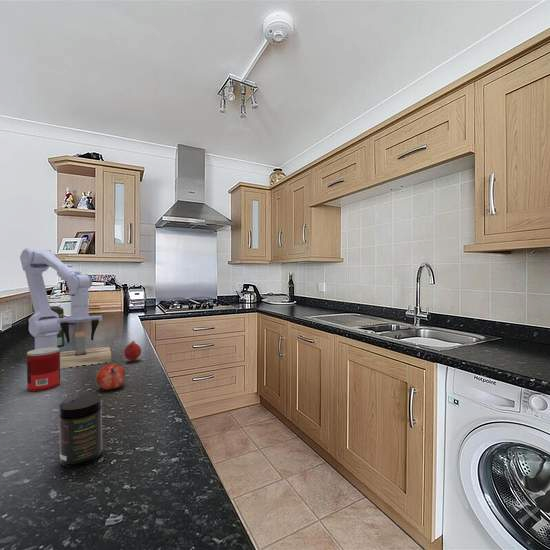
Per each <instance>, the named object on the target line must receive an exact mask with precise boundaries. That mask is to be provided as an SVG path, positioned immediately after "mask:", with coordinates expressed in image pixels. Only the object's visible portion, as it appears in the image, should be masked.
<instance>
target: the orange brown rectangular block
mask: <svg viewBox="0 0 550 550" xmlns="http://www.w3.org/2000/svg"><path fill="white" fill-rule="evenodd" d="M74 335H75V336H74V338H75V351H76V354H81V353H85V349H86V331H85V330H84V331H75V334H74Z"/></svg>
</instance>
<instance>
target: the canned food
mask: <svg viewBox="0 0 550 550" xmlns="http://www.w3.org/2000/svg"><path fill="white" fill-rule="evenodd" d="M60 352H61V350H60V348H59V347H48V348H40V349H35V348H34V349H32V350H29V351H27V353H26V388H27V389H28V391H30V392H42V391H41V390H43V391H47V389H48V390H51V389H54V388H56V387H58V386H59V385H60V383H61V369H60Z"/></svg>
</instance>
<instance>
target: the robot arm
mask: <svg viewBox="0 0 550 550" xmlns="http://www.w3.org/2000/svg"><path fill="white" fill-rule="evenodd" d="M19 259H20V263H21V268H22V271H23V272H24V273H25V277H26V282H27V285H28V289H29V294H30V298H31V302H32V307H33V311H34V313H33V314H32V315H31V316H30V317H29V318H28V332H29V333H30V335H31V336H32V337H33V338H34V350H35V349H40V348H48V347H57V334H59V331H60V330H61V328H62V330H63V331H64V337H65V338H66V343H70V340H71V339H70V324H71V323H72V324H74V323H85V322H86V323H87V322H88V323H89V322H90V323H91V324H90V326H91V328H90V329H91V330H90V331H91V333H90V340H91V341H94V338H95V337H94V336H95V333H96V330H97V328H98V326H99V324H100V321H101V322H102V321H103V315H102V314H101V315H90V311H89V305H90V304H89V289H91V287H92V285H93V280H92V277H91V276H90V274H89V273H81V271H80V270H77V269H76V268H75V267H74V265H72V264H70V263H69V264H68V263H65V264H64V263H63V262H62V260H60V259H59V258H58V257H57V256H56V253H55V252H53V251H52V250H51V249H35V248H24V249H23V250H22V252H21V254H20V256H19ZM49 268H52V269H53V270H55V271H56V274H57V276H58V277H59V278H60V279H62V280H63V281H65V282H66V286H67V288H68V292H69V295H70V312H71V313H70V317H64V318H59V317H58V314H57V313H56V312H54V311H52V310H51V309H50V306H51V305H50V302H49V297H48V293H47V290H46V289H47V288H46V285H45V284H46V283H45V282H44V281H45V280H44V277H43V273H44V272H46V271H48V269H49ZM57 348H58V347H57Z"/></svg>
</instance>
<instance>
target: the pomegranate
mask: <svg viewBox="0 0 550 550" xmlns="http://www.w3.org/2000/svg"><path fill="white" fill-rule="evenodd" d="M125 375H126V374H125V369H124V367H123V366H121V365H117V364H114V363H108V364H106V365H104V366H102V368H101V369H100V370H99V371H98V372H97V374H96V382H97V383H98V386H99V388H101V389H102V390H106V391H109V389H110V390H112V389H113V390H114V389H117V388H120V387H122V385H123V384H124V382H125Z"/></svg>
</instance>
